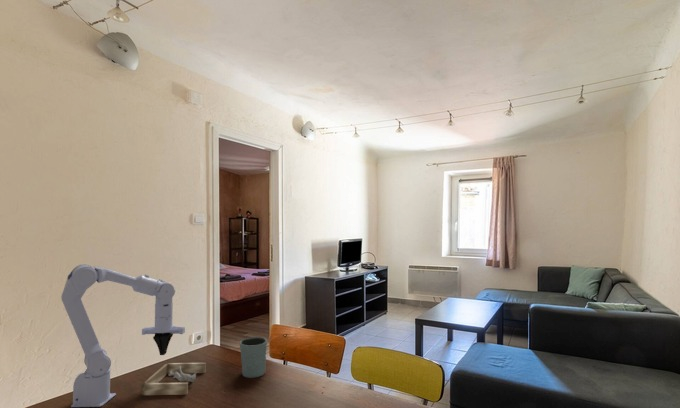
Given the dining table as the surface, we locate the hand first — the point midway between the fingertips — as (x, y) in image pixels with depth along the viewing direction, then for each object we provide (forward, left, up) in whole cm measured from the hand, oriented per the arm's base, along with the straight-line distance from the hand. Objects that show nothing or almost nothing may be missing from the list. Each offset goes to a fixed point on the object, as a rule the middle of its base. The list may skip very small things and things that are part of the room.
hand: (163, 354), depth 129 cm
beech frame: (+5, 0, -10) cm, 11 cm away
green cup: (+31, +7, -10) cm, 33 cm away
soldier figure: (+7, +1, -10) cm, 13 cm away
